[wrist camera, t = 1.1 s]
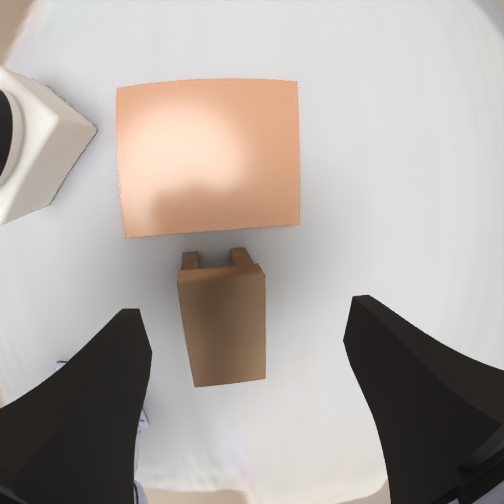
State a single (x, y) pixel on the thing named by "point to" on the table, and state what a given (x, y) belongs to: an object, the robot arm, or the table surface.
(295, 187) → the terracotta tile
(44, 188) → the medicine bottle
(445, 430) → the robot arm
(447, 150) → the table surface
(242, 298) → the brown slotted block
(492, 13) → the table surface
